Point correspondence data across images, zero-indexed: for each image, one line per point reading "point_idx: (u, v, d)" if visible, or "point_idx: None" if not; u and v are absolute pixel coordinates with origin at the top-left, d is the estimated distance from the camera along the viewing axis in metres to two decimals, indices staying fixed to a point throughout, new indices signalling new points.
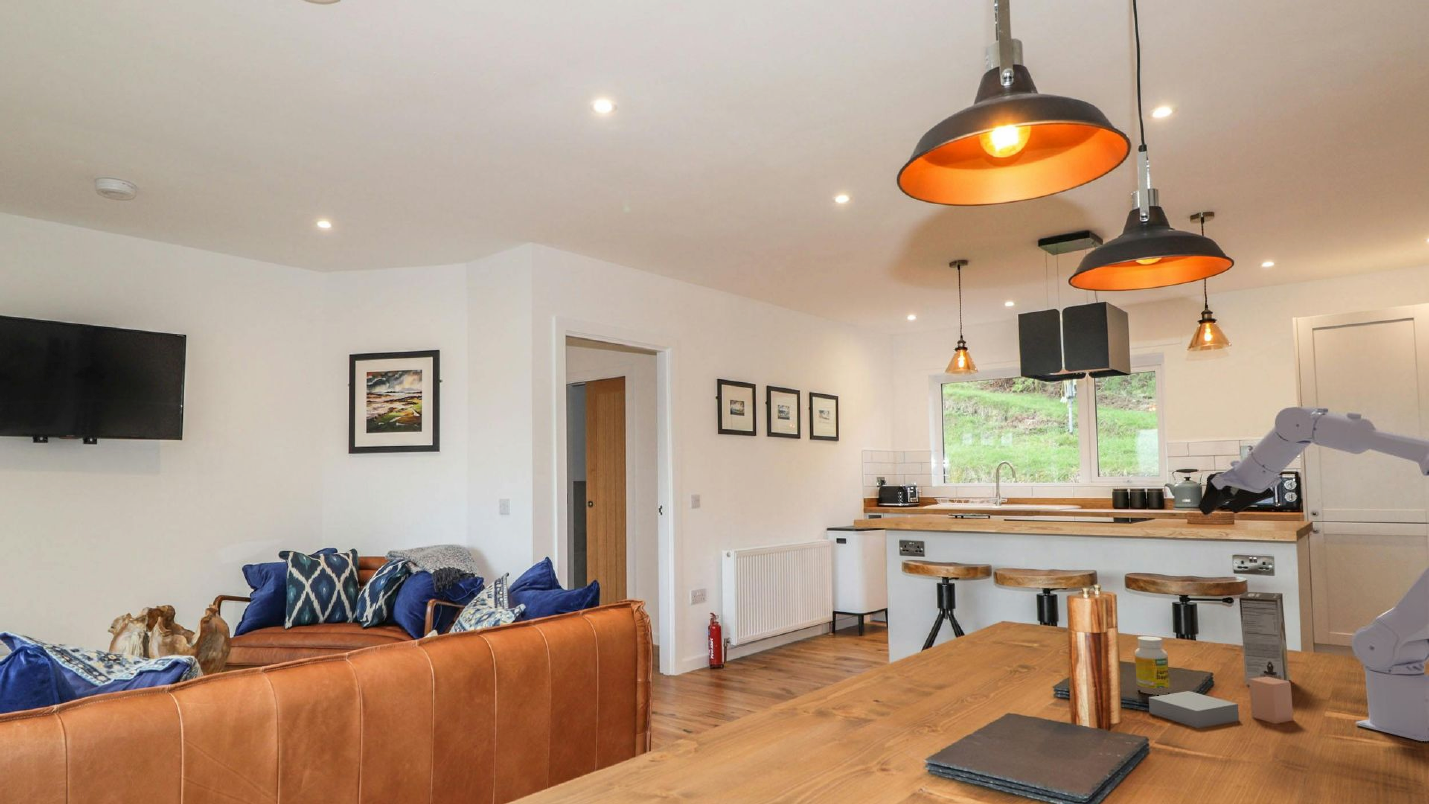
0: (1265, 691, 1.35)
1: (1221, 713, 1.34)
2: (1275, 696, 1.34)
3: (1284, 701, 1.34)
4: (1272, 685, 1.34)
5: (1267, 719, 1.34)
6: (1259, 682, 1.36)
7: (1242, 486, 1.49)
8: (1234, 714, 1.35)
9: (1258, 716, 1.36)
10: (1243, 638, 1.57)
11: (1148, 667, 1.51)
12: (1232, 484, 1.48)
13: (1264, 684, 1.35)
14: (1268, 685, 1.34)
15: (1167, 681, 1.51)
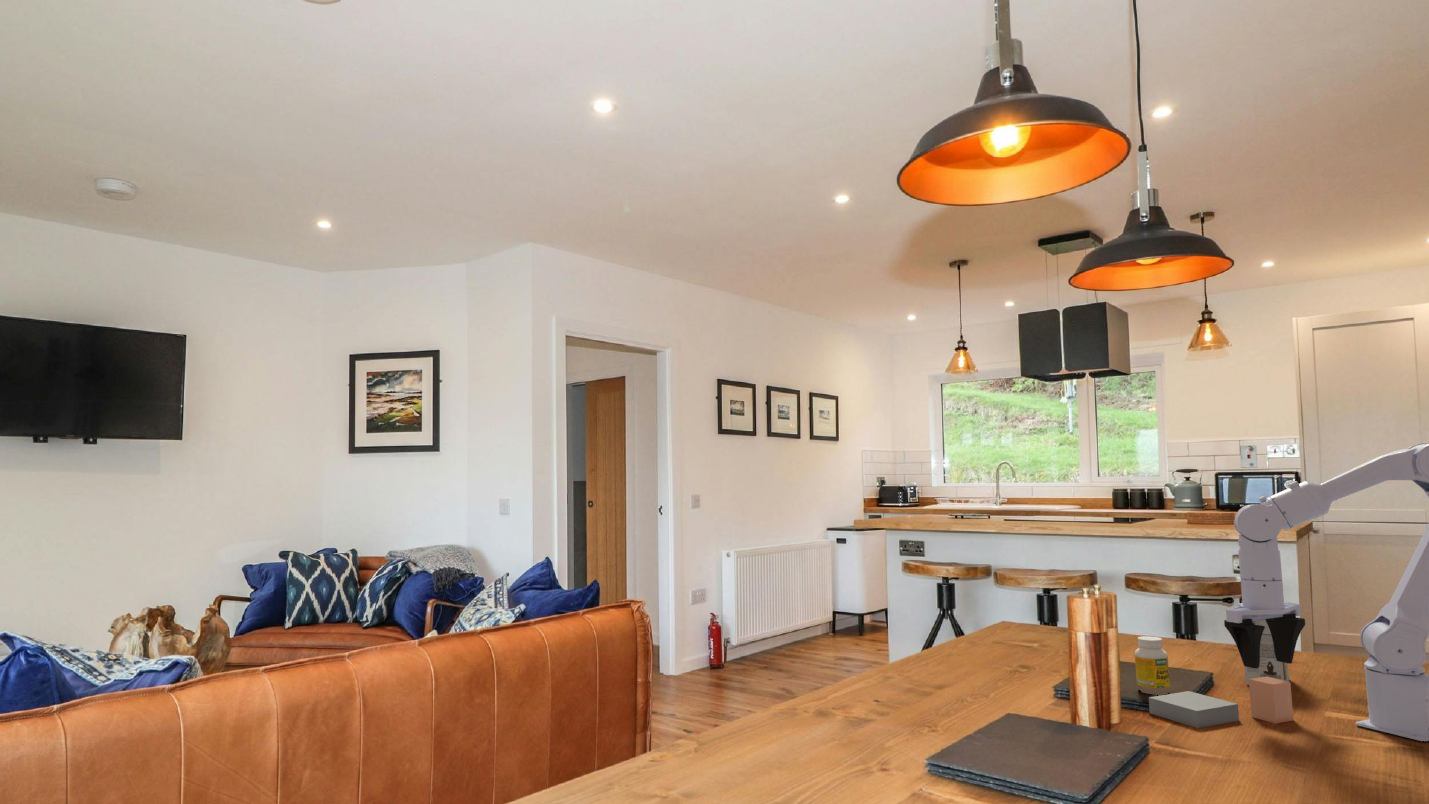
0: (1265, 691, 1.35)
1: (1221, 713, 1.34)
2: (1275, 696, 1.34)
3: (1284, 701, 1.34)
4: (1272, 685, 1.34)
5: (1267, 719, 1.34)
6: (1259, 682, 1.36)
7: (1259, 611, 1.34)
8: (1234, 714, 1.35)
9: (1258, 716, 1.36)
10: None
11: (1148, 667, 1.51)
12: (1247, 612, 1.34)
13: (1264, 684, 1.35)
14: (1268, 685, 1.34)
15: (1167, 681, 1.51)
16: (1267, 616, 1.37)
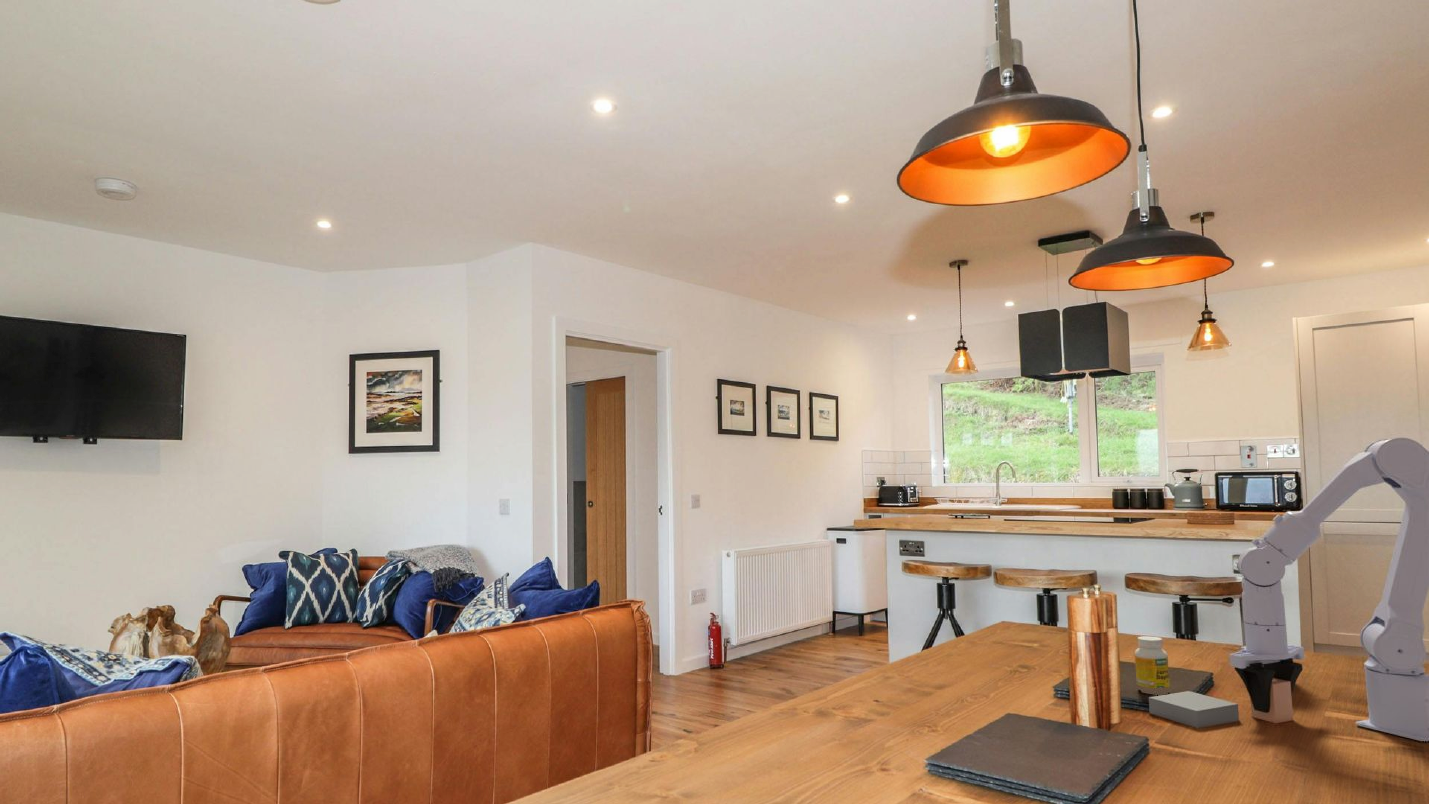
0: None
1: (1221, 713, 1.34)
2: (1275, 695, 1.34)
3: (1284, 701, 1.34)
4: (1272, 685, 1.34)
5: (1267, 719, 1.34)
6: None
7: (1262, 656, 1.33)
8: (1234, 714, 1.35)
9: (1258, 716, 1.36)
10: (1243, 638, 1.57)
11: (1148, 667, 1.51)
12: (1251, 657, 1.33)
13: None
14: None
15: (1167, 681, 1.51)
16: (1271, 660, 1.36)
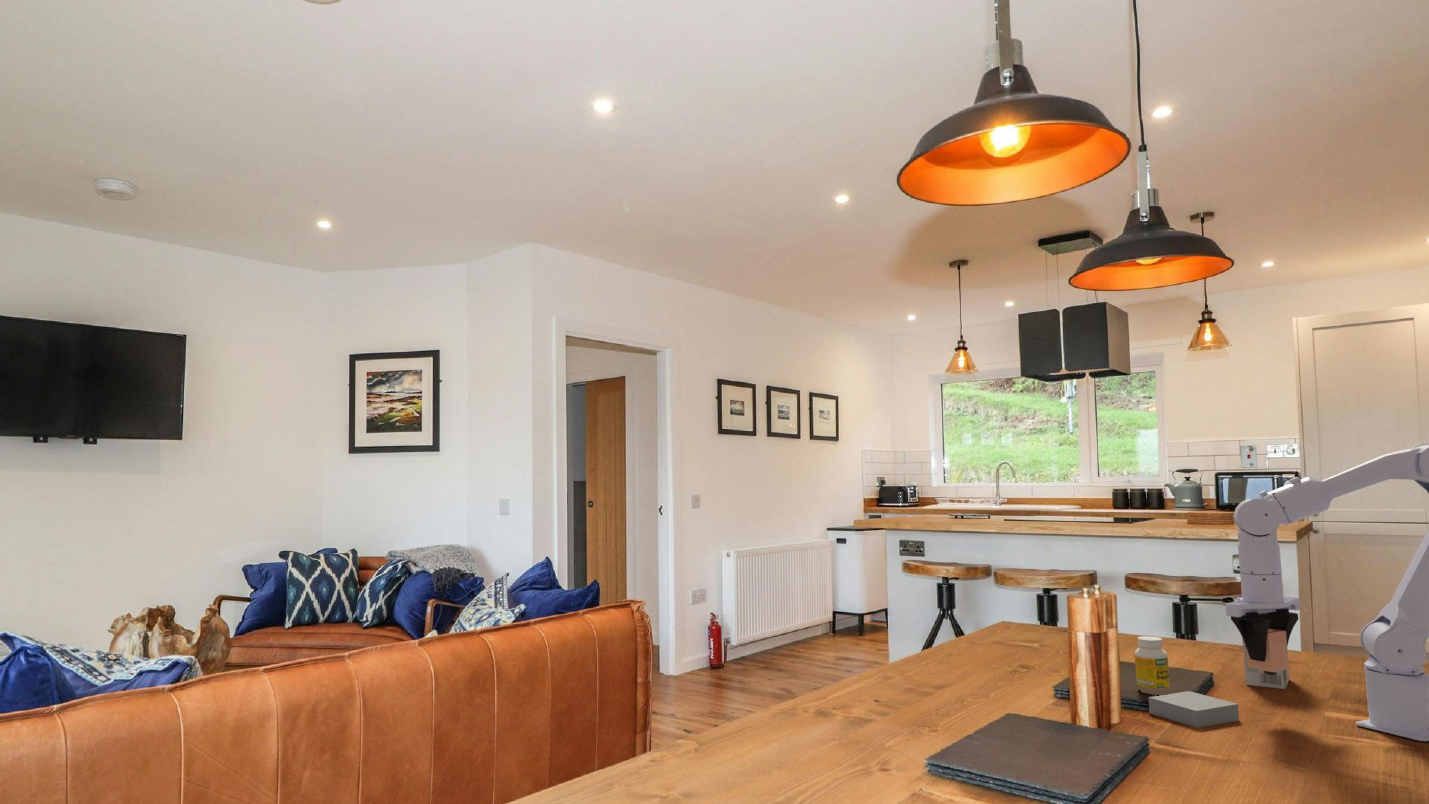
0: None
1: (1221, 713, 1.34)
2: (1271, 644, 1.34)
3: (1280, 650, 1.35)
4: (1268, 634, 1.34)
5: (1263, 668, 1.35)
6: None
7: (1258, 605, 1.34)
8: (1234, 714, 1.35)
9: (1254, 665, 1.36)
10: None
11: (1148, 667, 1.51)
12: (1247, 606, 1.34)
13: None
14: None
15: (1167, 681, 1.51)
16: (1267, 610, 1.37)
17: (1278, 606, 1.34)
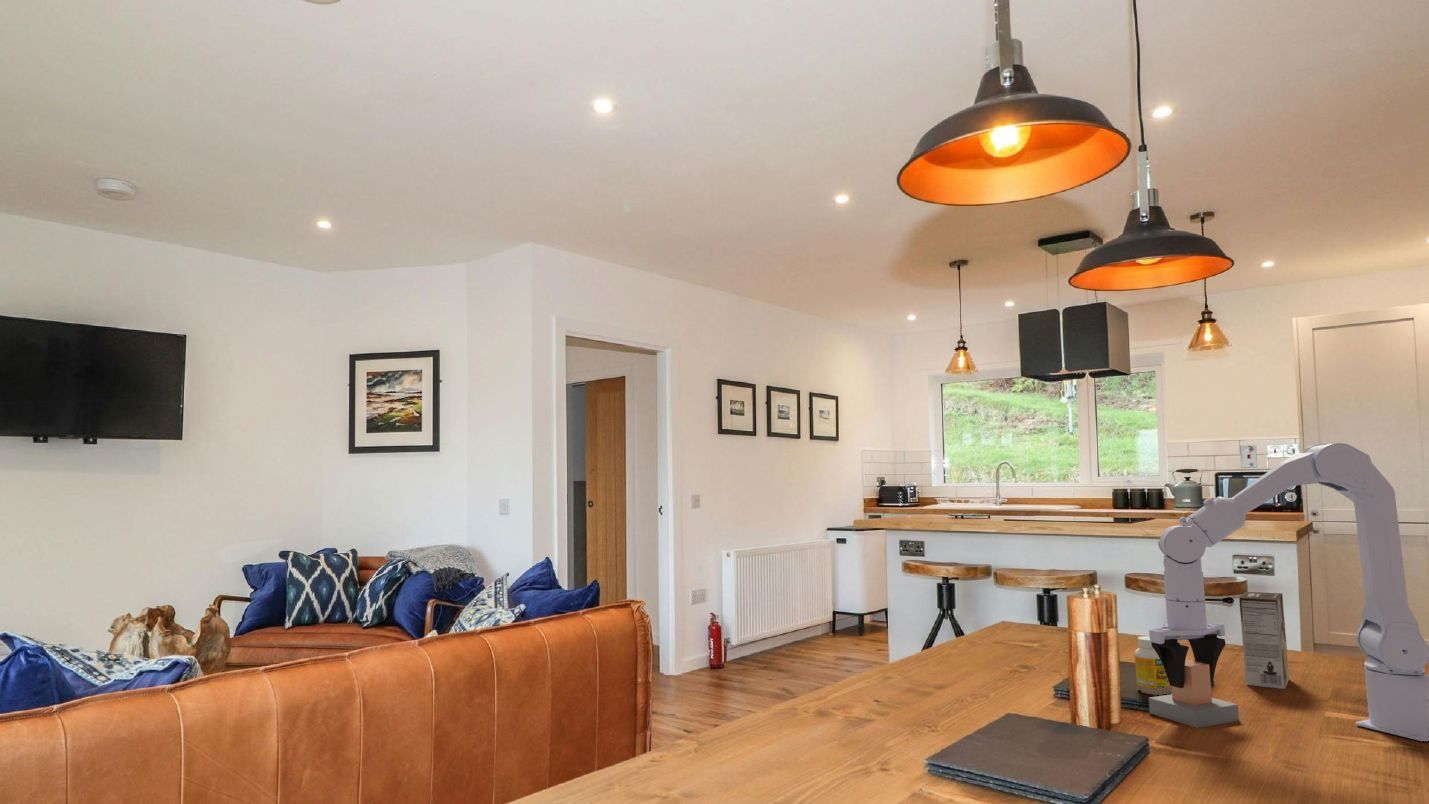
0: None
1: (1221, 713, 1.34)
2: (1193, 678, 1.36)
3: (1202, 683, 1.36)
4: (1190, 667, 1.36)
5: (1186, 701, 1.37)
6: None
7: (1181, 631, 1.36)
8: (1234, 714, 1.35)
9: (1178, 698, 1.38)
10: (1243, 638, 1.57)
11: (1148, 667, 1.51)
12: (1169, 632, 1.36)
13: None
14: (1187, 667, 1.36)
15: (1167, 681, 1.51)
16: (1191, 636, 1.39)
17: (1200, 633, 1.36)
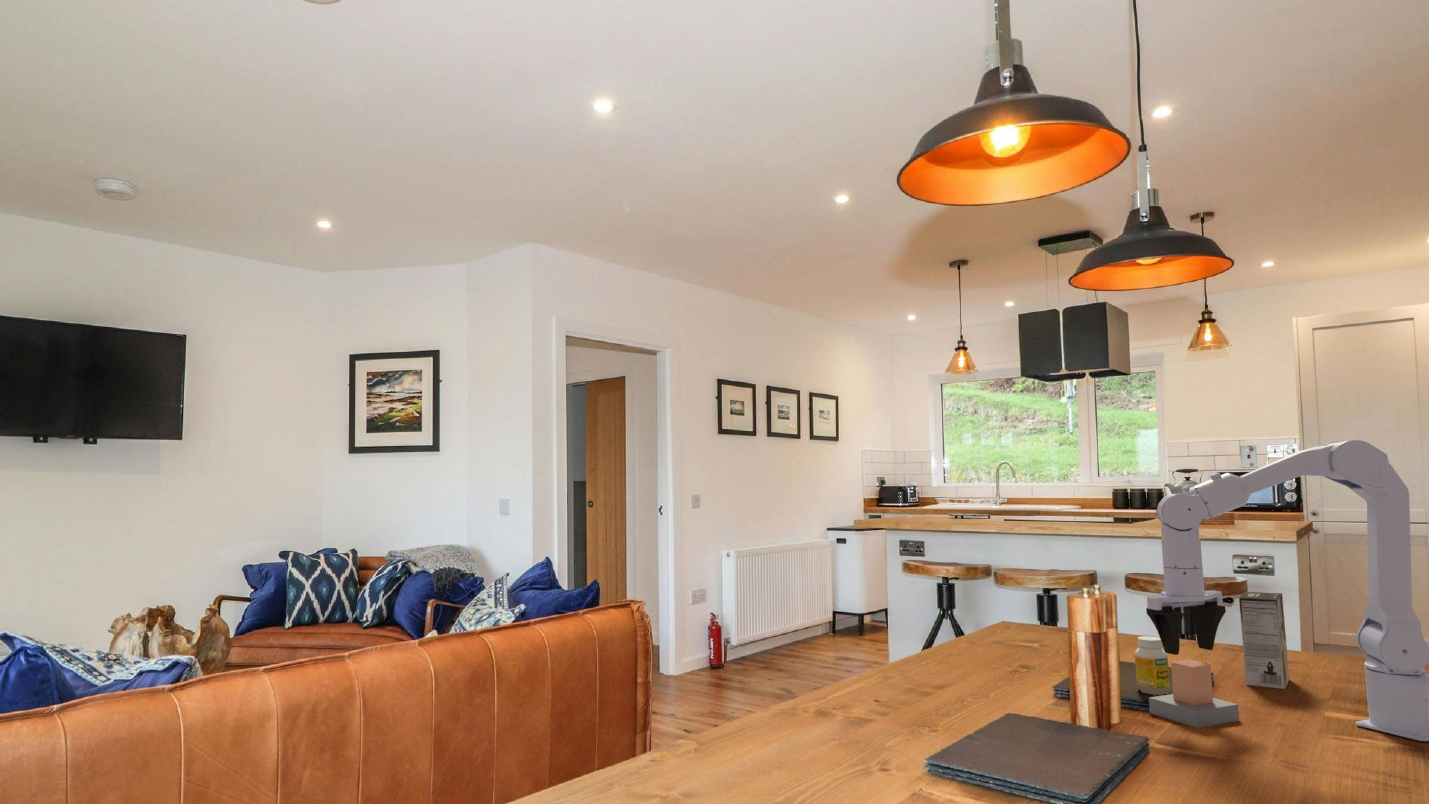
0: (1185, 674, 1.37)
1: (1221, 713, 1.34)
2: (1195, 678, 1.36)
3: (1204, 683, 1.36)
4: (1191, 668, 1.36)
5: (1187, 701, 1.36)
6: (1180, 665, 1.38)
7: (1178, 598, 1.36)
8: (1234, 714, 1.35)
9: (1179, 698, 1.38)
10: (1243, 638, 1.57)
11: (1148, 667, 1.51)
12: (1167, 599, 1.36)
13: (1184, 667, 1.37)
14: (1188, 668, 1.36)
15: (1167, 681, 1.51)
16: (1188, 603, 1.39)
17: (1198, 599, 1.36)
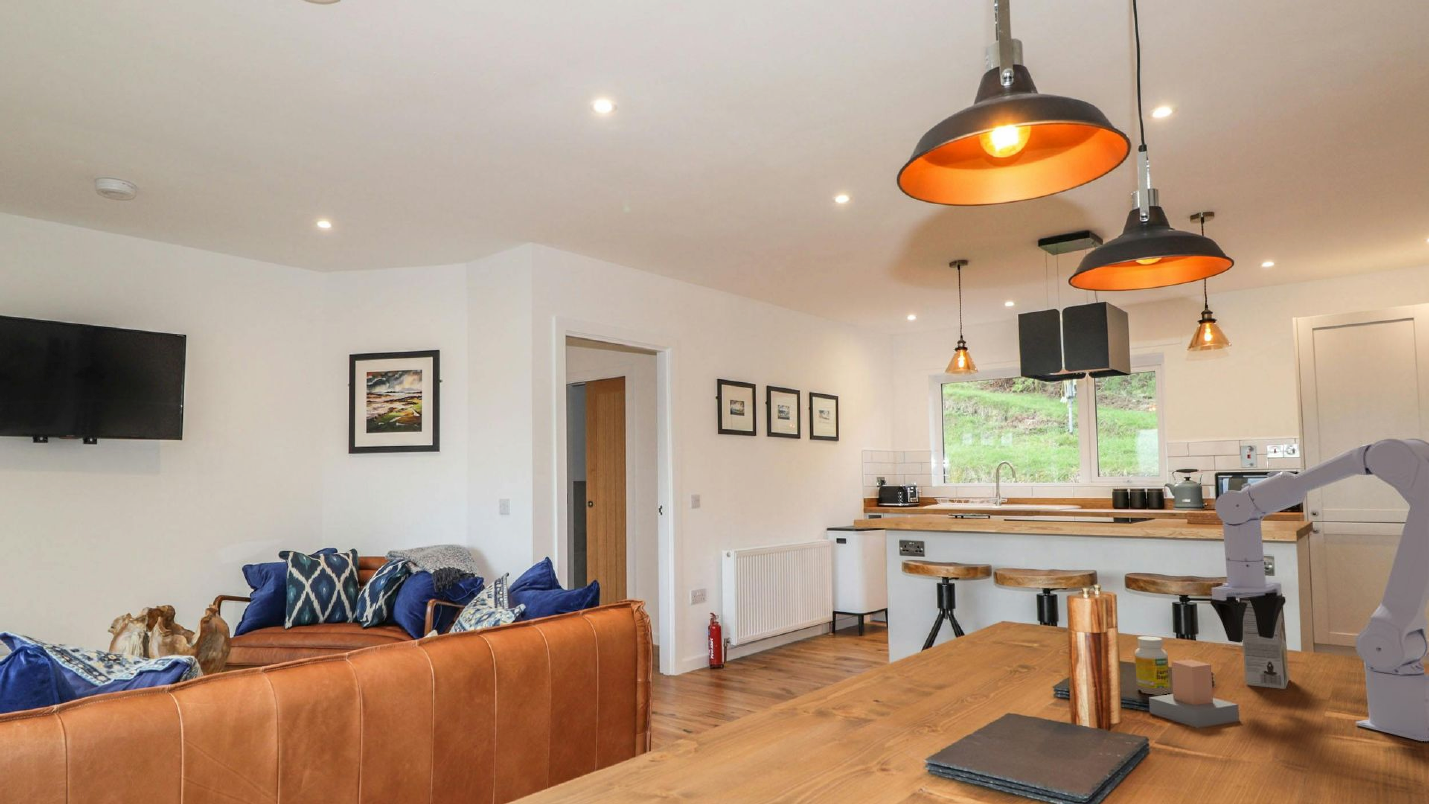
0: (1185, 673, 1.37)
1: (1222, 713, 1.34)
2: (1195, 678, 1.36)
3: (1204, 683, 1.36)
4: (1191, 667, 1.36)
5: (1186, 701, 1.37)
6: (1180, 664, 1.38)
7: (1242, 589, 1.44)
8: (1234, 714, 1.35)
9: (1179, 698, 1.38)
10: (1243, 638, 1.57)
11: (1148, 667, 1.51)
12: (1231, 590, 1.44)
13: (1184, 666, 1.37)
14: (1188, 667, 1.36)
15: (1167, 681, 1.51)
16: (1250, 594, 1.47)
17: (1260, 590, 1.44)
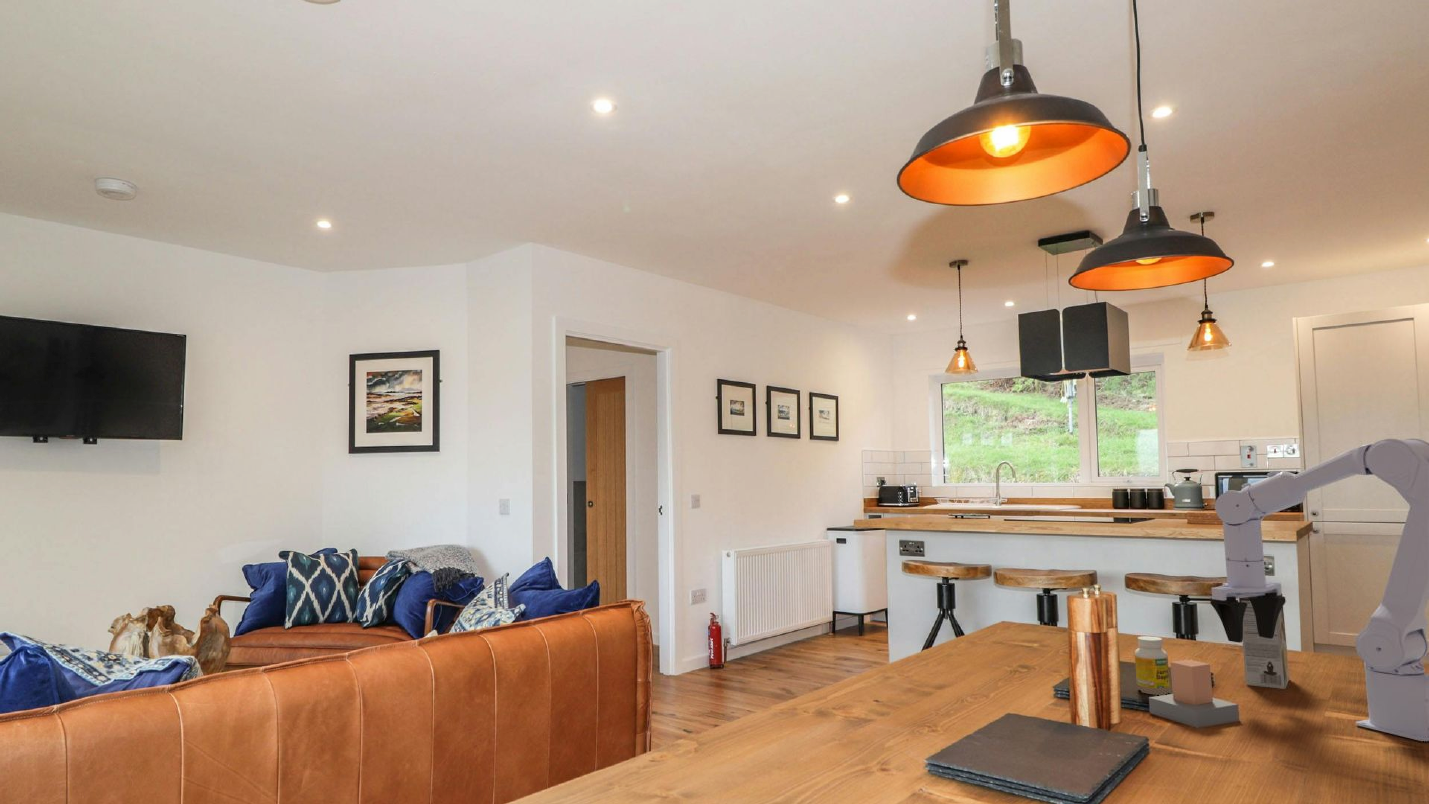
0: (1185, 673, 1.37)
1: (1222, 713, 1.34)
2: (1194, 678, 1.36)
3: (1203, 683, 1.36)
4: (1191, 667, 1.36)
5: (1187, 701, 1.36)
6: (1179, 665, 1.38)
7: (1242, 589, 1.44)
8: (1234, 714, 1.35)
9: (1179, 698, 1.38)
10: (1243, 638, 1.57)
11: (1148, 667, 1.51)
12: (1231, 590, 1.44)
13: (1184, 666, 1.37)
14: (1187, 667, 1.36)
15: (1167, 681, 1.51)
16: (1250, 594, 1.47)
17: (1260, 590, 1.44)
